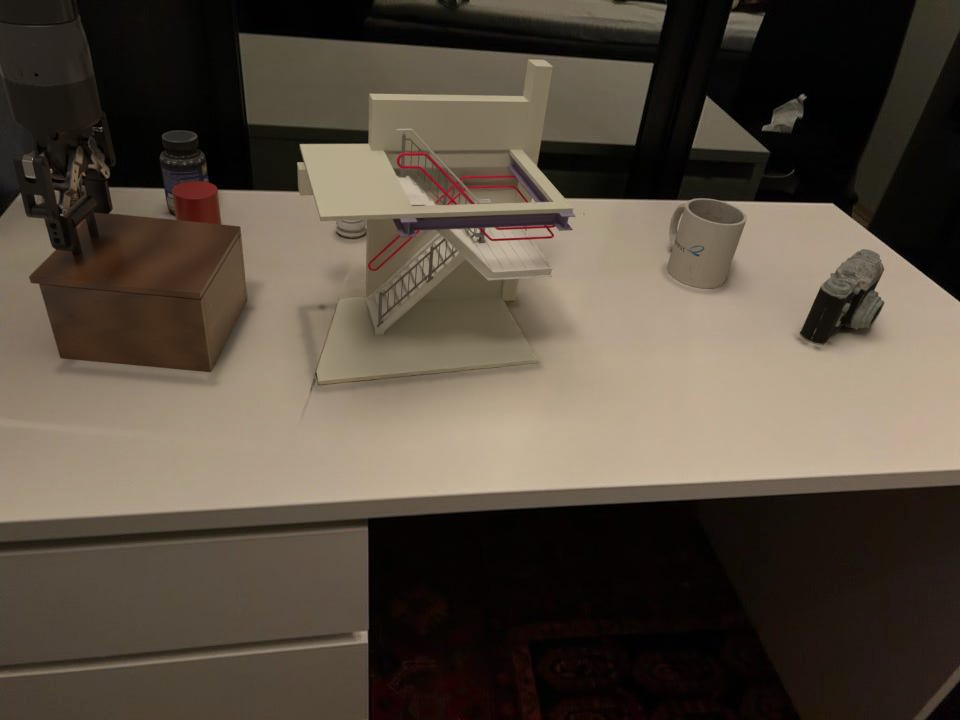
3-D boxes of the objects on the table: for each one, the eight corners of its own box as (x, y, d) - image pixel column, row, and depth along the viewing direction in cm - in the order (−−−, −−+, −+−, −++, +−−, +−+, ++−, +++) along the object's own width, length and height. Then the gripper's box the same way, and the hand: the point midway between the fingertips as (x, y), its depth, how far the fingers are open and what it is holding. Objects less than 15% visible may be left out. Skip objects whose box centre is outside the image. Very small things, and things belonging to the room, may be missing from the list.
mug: (735, 288, 107) (757, 225, 101) (680, 288, 105) (700, 225, 99) (699, 247, 117) (718, 188, 111) (649, 247, 115) (665, 187, 109)
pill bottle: (217, 214, 108) (209, 141, 102) (174, 221, 105) (163, 146, 99) (203, 197, 112) (194, 126, 106) (162, 204, 109) (150, 130, 103)
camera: (844, 358, 95) (877, 292, 89) (794, 335, 98) (823, 269, 92) (881, 318, 104) (913, 256, 98) (835, 298, 108) (863, 237, 102)
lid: (30, 283, 72) (16, 235, 69) (95, 217, 84) (85, 174, 81) (200, 299, 73) (193, 252, 70) (241, 232, 85) (237, 190, 81)
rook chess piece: (350, 222, 111) (350, 171, 106) (372, 232, 109) (373, 181, 104) (329, 231, 108) (328, 180, 103) (351, 242, 106) (351, 190, 101)
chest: (61, 364, 78) (38, 284, 72) (118, 292, 90) (102, 218, 84) (211, 377, 79) (200, 299, 73) (248, 304, 90) (241, 232, 85)
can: (174, 252, 98) (165, 196, 94) (188, 232, 103) (180, 178, 98) (216, 256, 99) (209, 201, 94) (228, 237, 103) (223, 183, 99)
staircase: (321, 397, 78) (313, 114, 60) (302, 304, 92) (291, 51, 74) (559, 372, 86) (615, 116, 68) (509, 290, 100) (544, 60, 82)
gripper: (52, 97, 62) (91, 267, 71) (121, 53, 73) (147, 204, 83) (-41, 87, 61) (11, 259, 71) (43, 44, 73) (78, 197, 82)
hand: (84, 229), depth 77 cm, fingers open, 8 cm apart
